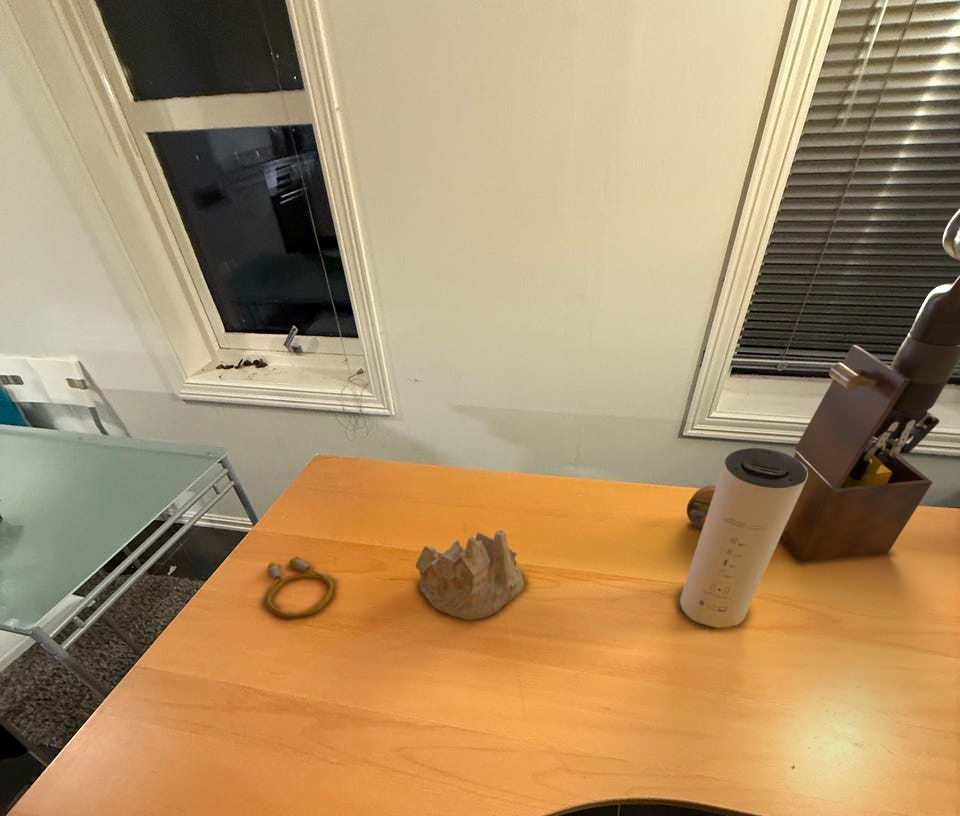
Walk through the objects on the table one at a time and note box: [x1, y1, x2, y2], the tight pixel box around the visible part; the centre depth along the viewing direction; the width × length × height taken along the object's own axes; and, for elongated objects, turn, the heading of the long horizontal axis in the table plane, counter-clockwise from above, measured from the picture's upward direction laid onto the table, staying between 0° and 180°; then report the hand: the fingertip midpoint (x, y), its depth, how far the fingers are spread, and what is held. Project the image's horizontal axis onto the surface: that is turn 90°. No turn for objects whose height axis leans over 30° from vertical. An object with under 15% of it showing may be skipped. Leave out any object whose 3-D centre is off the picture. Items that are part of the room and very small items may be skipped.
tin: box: [686, 484, 717, 530], centre depth 100 cm, size 15×3×8 cm, turn 62°
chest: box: [780, 444, 933, 563], centre depth 95 cm, size 16×13×14 cm
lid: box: [794, 344, 910, 489], centre depth 83 cm, size 17×13×5 cm
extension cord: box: [266, 556, 334, 618], centre depth 97 cm, size 12×16×2 cm
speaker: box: [679, 447, 808, 629], centre depth 80 cm, size 11×10×26 cm
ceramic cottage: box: [415, 529, 525, 621], centre depth 91 cm, size 16×16×15 cm
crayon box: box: [840, 449, 892, 488], centre depth 92 cm, size 7×3×12 cm, turn 4°
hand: (864, 476), depth 91 cm, fingers closed on crayon box, 3 cm apart
